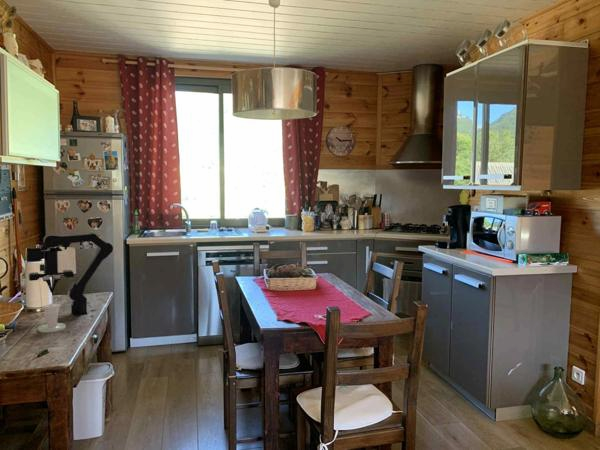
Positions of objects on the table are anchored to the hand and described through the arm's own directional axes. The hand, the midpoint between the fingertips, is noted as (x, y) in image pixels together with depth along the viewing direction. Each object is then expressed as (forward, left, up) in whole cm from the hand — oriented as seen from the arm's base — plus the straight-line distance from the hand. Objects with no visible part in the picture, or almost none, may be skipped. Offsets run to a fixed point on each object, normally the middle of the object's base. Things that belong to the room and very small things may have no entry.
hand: (51, 292), depth 226 cm
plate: (+2, +19, -12) cm, 23 cm away
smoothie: (+2, +19, -11) cm, 22 cm away
